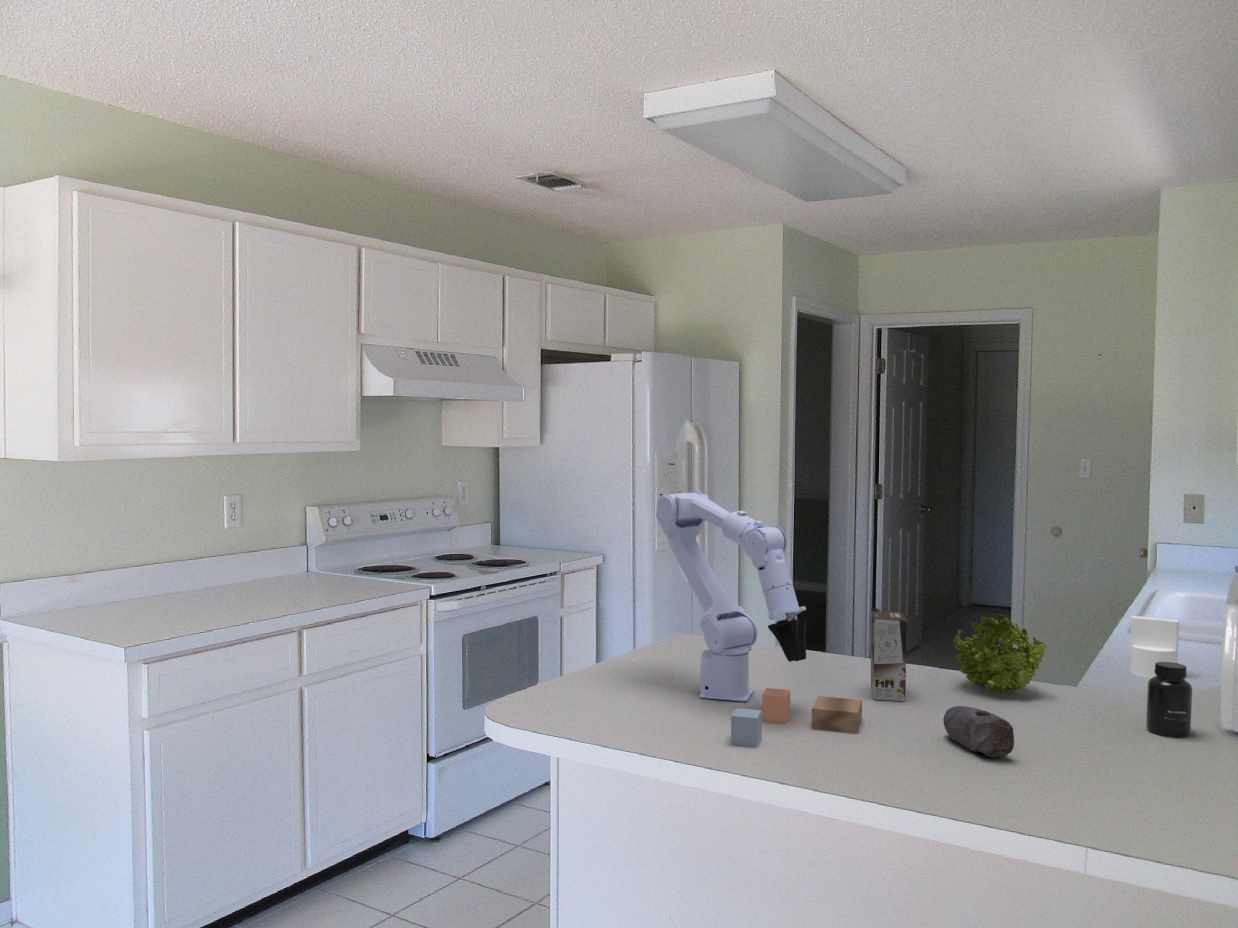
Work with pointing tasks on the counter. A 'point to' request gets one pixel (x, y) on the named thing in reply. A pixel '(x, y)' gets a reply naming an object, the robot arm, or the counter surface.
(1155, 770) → the counter surface
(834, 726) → the walnut block
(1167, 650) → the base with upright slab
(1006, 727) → the perforated stone tool
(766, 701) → the terracotta block
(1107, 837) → the counter surface
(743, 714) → the slate-grey block
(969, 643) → the lettuce head
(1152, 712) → the supplement bottle
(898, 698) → the coffee box
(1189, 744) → the counter surface
